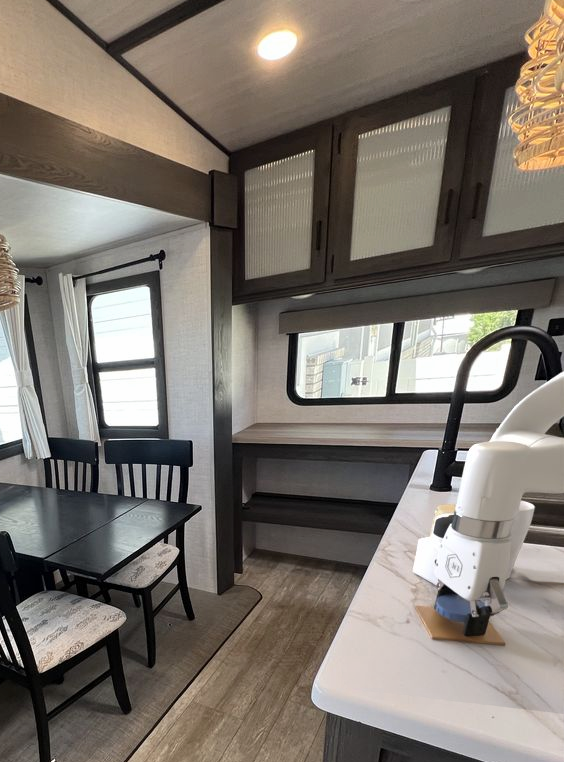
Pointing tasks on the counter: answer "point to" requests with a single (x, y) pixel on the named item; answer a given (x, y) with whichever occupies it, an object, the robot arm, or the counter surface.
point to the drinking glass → (520, 531)
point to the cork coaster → (453, 628)
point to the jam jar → (440, 511)
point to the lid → (454, 607)
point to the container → (431, 549)
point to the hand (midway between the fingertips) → (458, 621)
